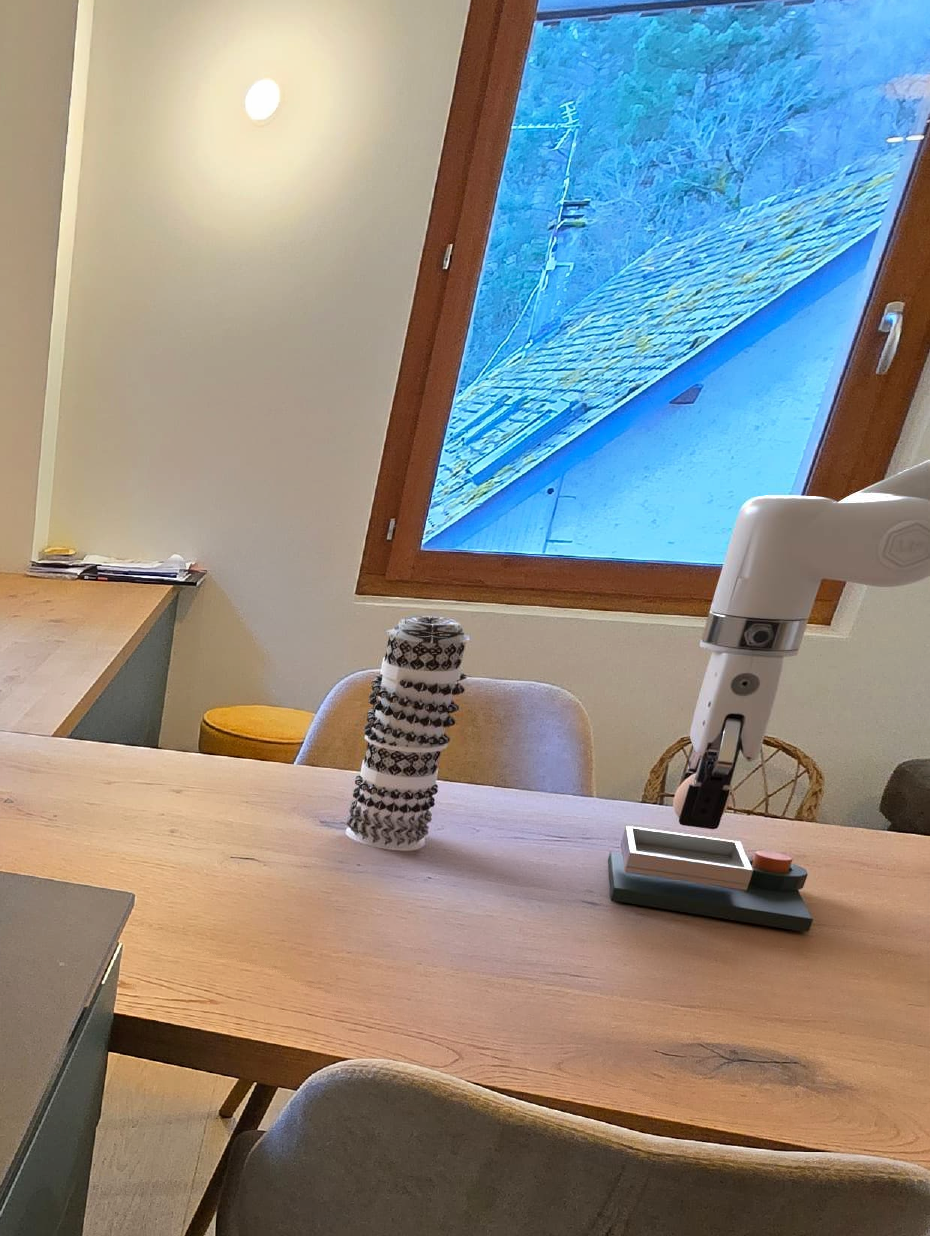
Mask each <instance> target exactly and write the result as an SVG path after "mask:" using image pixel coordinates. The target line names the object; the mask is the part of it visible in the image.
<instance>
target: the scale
mask: <svg viewBox="0 0 930 1236" xmlns="http://www.w3.org/2000/svg"><path fill="white" fill-rule="evenodd" d="M754 857H755V856H747V858H748V860H749V862H750V864H751V867H752V869H753V873H752V876H751V879H750V882H749V884H748V888H747V890H740V889H733V888H727V887H720V886H714V885H707V884H701V883H694V882H688V881H681V880H674V879H668V878H661V877H655V876H648V875H642V874H635V873H629V872H625V871H624V864H623V857H622V852H617V851H609V855H608V857H607V869H608V871H607V872H608V884H609V896H610V901H613V902H620V903H625V904H632V905H638V906H644V907H649V908H650V907H651V908H657V909H662V910H669V911H675V912H680V913H688V914H693V915H699V916H704V917H705V916H706V917H711V918H712V917H713V918H718V919H725V920H731V921H736V922H742V923H749V924H755V925H761V926H767V927H768V926H769V927H773V928H779V929H786V930H791V931H798V932H803V933H809V932H810V929H811V926H812V923H813V920H814V919H813V917H812V915H811V912H810V910H809V908H808V907H807V904H806V902H805V901H804V899H803V897H802V894H801V893H800V891H799V890H802V889H804V886H805V883H806V880H807V878H808V875H809V872H808V871H807V869H806V868H804V867H801V866H799V865H797V864H795V863H793V862H792V863H791V866H790V868H789V871H788V872H774V871H767V870H764V869H760V868H756V867H754V866H752V863H753V860H754Z"/></svg>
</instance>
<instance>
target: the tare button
mask: <svg viewBox="0 0 930 1236" xmlns="http://www.w3.org/2000/svg"><path fill="white" fill-rule="evenodd" d="M753 857H754V860H753V863H752V866H754V867H756V868H760V869H764V870H767V871H774V872H788V871H789V868H790V866H791V863H792V864H793V858H794V857H792V856H790V855H789V854H786V853H784V852H779V851H774V850H758V851H756V852H755V853H754V856H753Z"/></svg>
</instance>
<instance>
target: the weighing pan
mask: <svg viewBox="0 0 930 1236" xmlns="http://www.w3.org/2000/svg"><path fill="white" fill-rule="evenodd" d="M620 848H621V853H622V857H623V864H624V871H625V872H629V873H635V874H642V875H648V876H655V877H661V878H668V879H674V880H681V881H688V882H694V883H701V884H707V885H714V886H720V887H727V888H733V889H740V890H747V888H748V884H749V882H750V879H751V876H752V873H753V869H752V867H751V864H750V862H749V860H748V858H747V857H748V855H747V853H746V851H745V848H744V846H743V844H742V841H740V840H739V841H738V840H731V839H723V838H718V837H717V838H715V837H709V836H703V835H702V836H701V835H695V834H687V833H680V832H679V833H678V832H672V831H665V830H659V829H658V830H657V829H651V828H643V827H636V826H628V825H626V826H625V828H624V831H623V836H622V838H621V842H620Z"/></svg>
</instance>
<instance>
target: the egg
mask: <svg viewBox="0 0 930 1236" xmlns="http://www.w3.org/2000/svg"><path fill="white" fill-rule="evenodd" d="M695 776H696V773H695V774H693V775H691V776H690V777H688V778H687V779H686V780H685V781H684V782H683V783H682V782H681V784H680V785H679V786H678V788H677V789H676V792H675V793H674V796H673V801H672V802H673V803H672V807H673V810H674V813H675V814H676V816H677V818H679V817H680V814H681V811H682V807H683V804H684V801H685V798H686V794H687V791H688V788H689V784H690V785H693V784H694V780H695ZM730 799H731V791H730V792H729V795H728V798H727V801H726V805H725V808H724V811H723V814H722V816H724V814H725V812H726V811H727V809H728V806H729V803H730V801H731V800H730Z"/></svg>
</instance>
